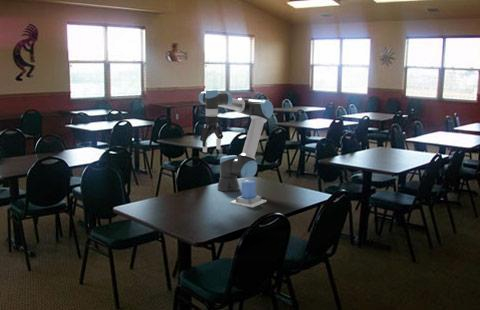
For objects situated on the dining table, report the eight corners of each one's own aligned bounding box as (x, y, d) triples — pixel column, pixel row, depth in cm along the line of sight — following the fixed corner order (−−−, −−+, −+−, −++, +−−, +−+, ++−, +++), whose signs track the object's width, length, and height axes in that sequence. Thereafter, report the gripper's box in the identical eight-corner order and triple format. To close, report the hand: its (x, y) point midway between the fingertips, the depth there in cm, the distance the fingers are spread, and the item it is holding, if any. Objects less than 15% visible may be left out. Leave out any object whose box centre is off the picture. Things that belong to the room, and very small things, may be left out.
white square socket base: (244, 197, 315) (244, 192, 314) (266, 201, 306) (266, 196, 306) (230, 203, 302) (230, 197, 301) (252, 207, 293) (252, 201, 292)
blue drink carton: (248, 199, 308) (249, 178, 306) (255, 200, 305) (255, 179, 303) (241, 201, 303) (241, 180, 300) (248, 202, 300) (248, 181, 297)
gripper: (219, 113, 309) (219, 147, 313) (193, 116, 289) (193, 152, 292) (228, 114, 305) (228, 148, 309) (203, 117, 285) (204, 154, 288)
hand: (211, 150), depth 301 cm, fingers open, 13 cm apart
